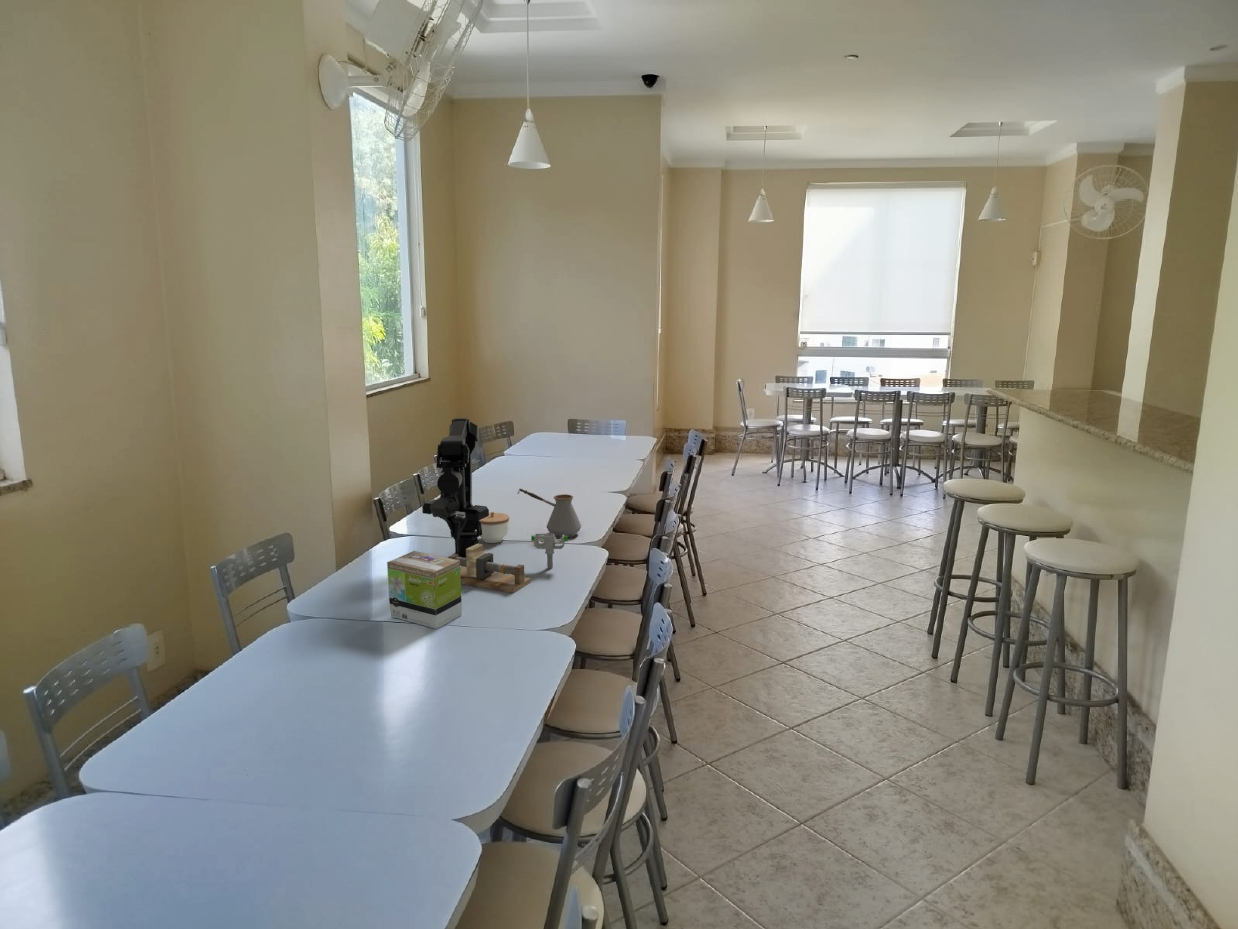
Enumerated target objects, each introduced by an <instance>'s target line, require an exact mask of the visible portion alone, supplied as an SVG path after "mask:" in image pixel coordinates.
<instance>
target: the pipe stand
mask: <svg viewBox="0 0 1238 929" xmlns="http://www.w3.org/2000/svg"><path fill="white" fill-rule="evenodd" d="M452 554H453V555H452ZM452 554H451V555H449V556H448V558H450V559H455V560H460V574H461V585H466V586H471V587H477V588H483V589H487V590H488V589H489V590H495V591H499V592H505V593H511V594H515V593H516V592H518V591H520V590H521V589H522V588H524V587H527V585H529V584H531V581H532V578H531V577H526V576H525V565H524V564H518V565H509V564H507V563H497V562H494V561H493V562H484V567H485V570H487V571H493V572H494V573H492V574H491V575H489V576H487V577H485V578H483V579H479V578H477V577H470V576H467V563H466V558H462V557H459V555H458V554H454V553H452Z"/></svg>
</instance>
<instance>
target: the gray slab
mask: <svg viewBox="0 0 1238 929" xmlns="http://www.w3.org/2000/svg"><path fill="white" fill-rule="evenodd" d="M486 553H487V554H485V555H483V556H481V557H479V558H477V578H479V579H483V578H485V577H487V576H489V575H491V574H492V573H494V572H493V571H487V570H485V567H484V562H493V563H494V553H492V552H486Z"/></svg>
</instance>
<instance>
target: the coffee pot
mask: <svg viewBox="0 0 1238 929" xmlns="http://www.w3.org/2000/svg"><path fill="white" fill-rule="evenodd" d="M520 492H521V493H522V492H523V493H524V494H526V495H528V496H529V497H531V498H534V499H536V500H539V501H541V502H543V503H545V504H547V505H549V506H552V507H553V510H552V511H551V514H550V517H549V518H548V521H547V524H546V528H547V531H548V532H549V534H554V536H555V538H559V539H561V538H562V535H565V536H567V538H572V537H574V536H576V534H578V533H579V531H580V530H581V528H582V524H581V522H580V520H579V517H578V514H577V513H576V511H575V508H574V506H573V504H572V501H573V499H574V496H573V495H571V494H558V495H554V496H553V499H554V501H555V503H554V502H552V501H549V500H547V499H545V498H543V497H541V496H539V495H537V494H535V493H533V492H529V491H527V489H526V490H525V489H523V488H519V489H518V491H517V495H519V494H520Z"/></svg>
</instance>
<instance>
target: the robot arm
mask: <svg viewBox="0 0 1238 929" xmlns="http://www.w3.org/2000/svg"><path fill="white" fill-rule="evenodd" d="M448 428H449V429H448V430H449V434H448V436H446V437H442V439H441V441H440V443H438V445H437V452H436V465H435V466H436V468H437V469H440V468H441V470H442V472H441V474H440V475H439V477H438V479H437V482H436V483H437V484H436V486H437V488H438V490H439V491H440V494H439V497H438V498H436V499H431V500H428V501H426V502H424V503H423V504H422V507H421V511H422V514H426V515H432V517H434V518H439V519H441V520H443V521H444V522H446V524H447V526H448V528H449V530H450V538H453V539H454V548H455V549H454V550H455V552H454V553H452V554H451V555H453V554H458V555H459V557H462V558H466V549H467V548H469V547H472V546H474V545H476V544H480V541H479V540H480V539H478V538H480V536H481V535H482V526H481V522H480V520H481V519H483V518H485V517H488V516H489V513H490V510H489V508H488V507H487V506H486V505H480V504H476V505H473V455H474V454H475V451H476V450H477V448H478V442H480V431H479V427H478V425H477V424H475V423H473V422H472V421H471V419H470V418H467V417H465V418H464V417H463V418H462V417H455V418H453V419H451V424H450V425H449V427H448Z"/></svg>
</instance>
